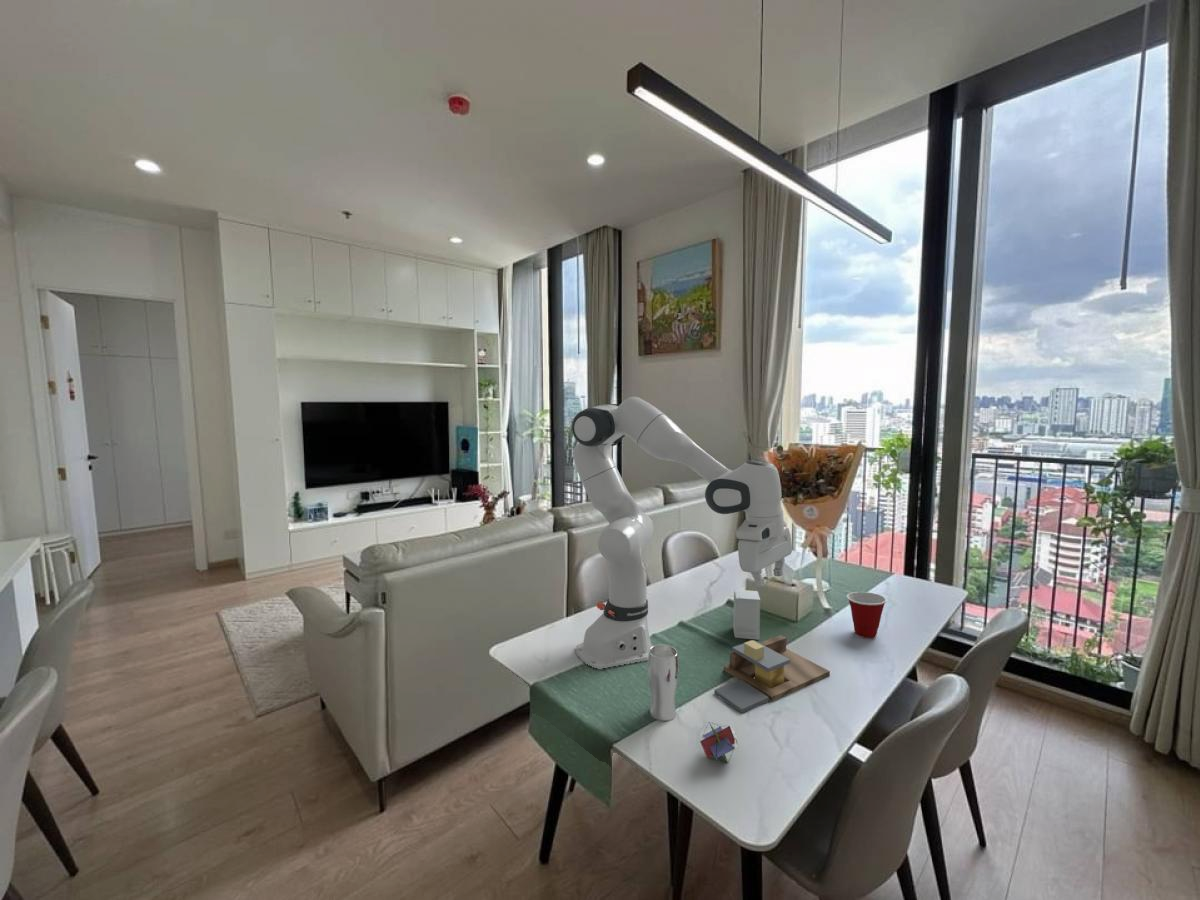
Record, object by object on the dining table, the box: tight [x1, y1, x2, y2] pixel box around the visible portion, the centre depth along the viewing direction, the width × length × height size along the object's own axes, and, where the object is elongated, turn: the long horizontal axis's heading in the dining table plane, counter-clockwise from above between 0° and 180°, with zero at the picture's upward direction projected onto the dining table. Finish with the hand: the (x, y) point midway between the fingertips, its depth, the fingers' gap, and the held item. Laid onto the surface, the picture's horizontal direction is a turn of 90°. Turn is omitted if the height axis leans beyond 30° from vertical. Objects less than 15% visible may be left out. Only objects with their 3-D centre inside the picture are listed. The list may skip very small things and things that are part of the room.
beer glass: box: [647, 643, 679, 722], centre depth 113 cm, size 7×7×15 cm
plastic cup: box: [846, 591, 887, 639], centre depth 151 cm, size 11×11×12 cm
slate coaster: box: [713, 679, 770, 714], centre depth 119 cm, size 9×9×1 cm
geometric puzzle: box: [699, 721, 739, 764], centre depth 99 cm, size 7×7×8 cm
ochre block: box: [754, 665, 785, 688], centre depth 125 cm, size 5×5×5 cm
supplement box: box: [732, 589, 761, 641], centre depth 152 cm, size 7×7×13 cm
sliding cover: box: [731, 639, 790, 672], centre depth 128 cm, size 8×12×4 cm, turn 30°
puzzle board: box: [723, 634, 831, 702], centre depth 130 cm, size 22×16×5 cm
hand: (769, 580), depth 122 cm, fingers open, 8 cm apart
